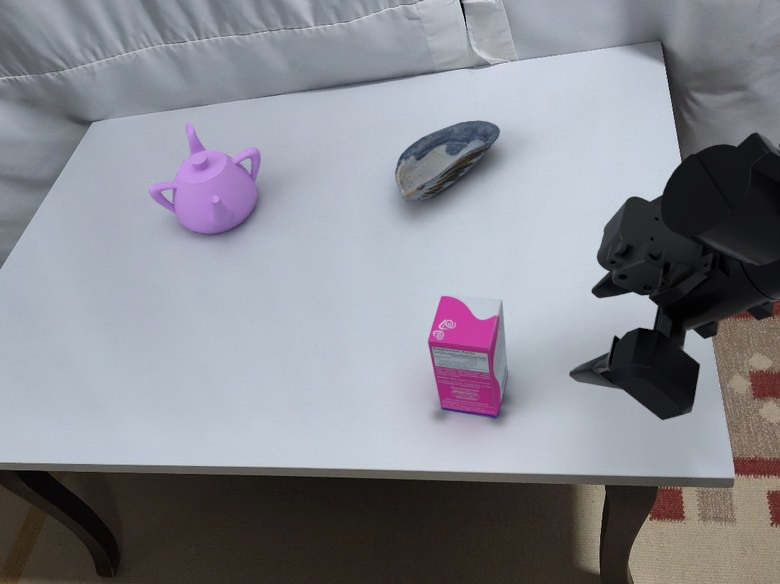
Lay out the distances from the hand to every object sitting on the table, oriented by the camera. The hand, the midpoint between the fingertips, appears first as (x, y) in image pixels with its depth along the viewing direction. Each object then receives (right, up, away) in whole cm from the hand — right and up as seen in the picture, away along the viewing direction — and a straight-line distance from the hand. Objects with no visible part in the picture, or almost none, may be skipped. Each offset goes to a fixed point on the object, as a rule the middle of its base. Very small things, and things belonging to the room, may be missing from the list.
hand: (584, 333), depth 64 cm
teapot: (-35, +18, +38) cm, 55 cm away
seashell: (-5, +21, +31) cm, 38 cm away
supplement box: (-7, -6, +12) cm, 15 cm away
